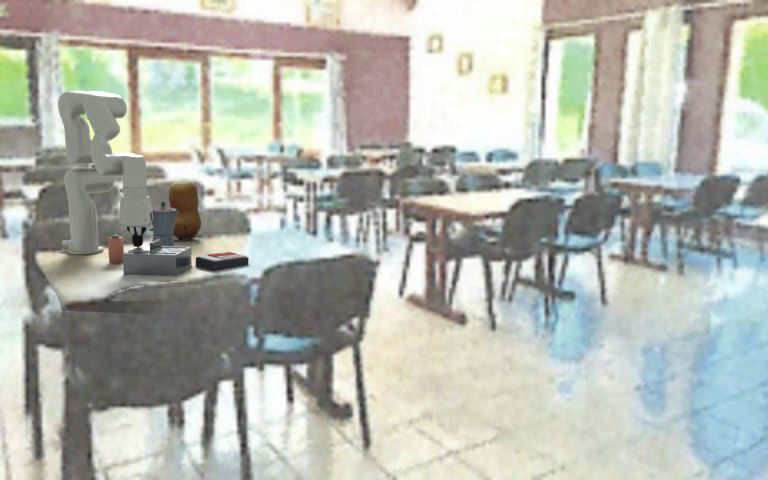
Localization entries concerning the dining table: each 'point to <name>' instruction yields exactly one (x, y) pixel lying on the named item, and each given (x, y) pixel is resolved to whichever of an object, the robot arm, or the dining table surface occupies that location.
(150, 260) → the grey metal box
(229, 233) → the dining table surface
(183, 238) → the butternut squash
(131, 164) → the robot arm
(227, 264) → the calculator
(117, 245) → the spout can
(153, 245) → the guard cover
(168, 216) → the moka pot
